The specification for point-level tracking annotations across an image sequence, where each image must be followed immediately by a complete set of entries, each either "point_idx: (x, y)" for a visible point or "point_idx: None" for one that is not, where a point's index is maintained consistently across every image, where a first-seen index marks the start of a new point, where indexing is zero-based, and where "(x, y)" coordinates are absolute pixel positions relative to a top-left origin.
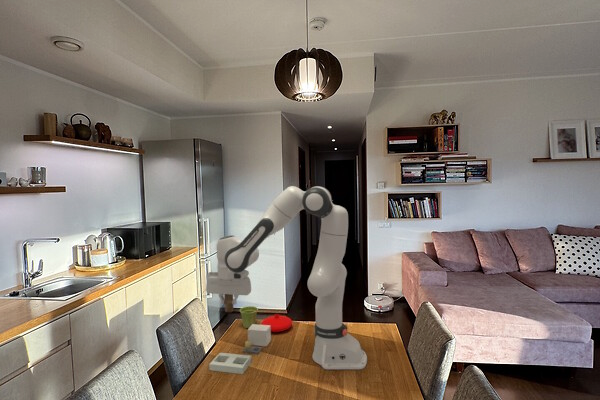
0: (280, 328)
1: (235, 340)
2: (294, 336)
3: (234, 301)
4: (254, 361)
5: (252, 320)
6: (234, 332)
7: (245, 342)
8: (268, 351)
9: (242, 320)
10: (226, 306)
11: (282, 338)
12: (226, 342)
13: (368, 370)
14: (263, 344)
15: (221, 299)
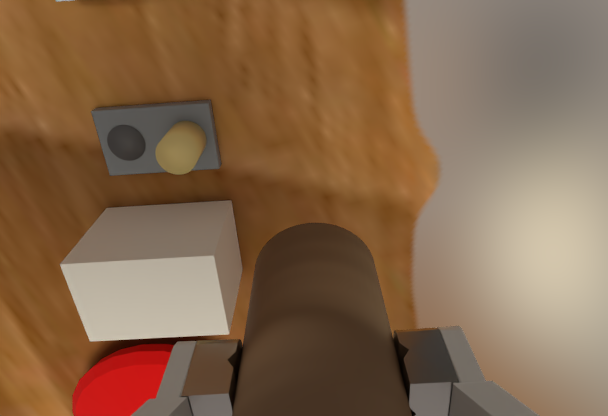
0: (98, 367)
1: None
2: (29, 338)
3: (163, 384)
4: (61, 10)
5: None
6: (390, 306)
7: (186, 144)
8: (58, 156)
9: None
10: (329, 278)
11: None
12: (383, 192)
13: None
14: (123, 211)
15: (482, 391)
